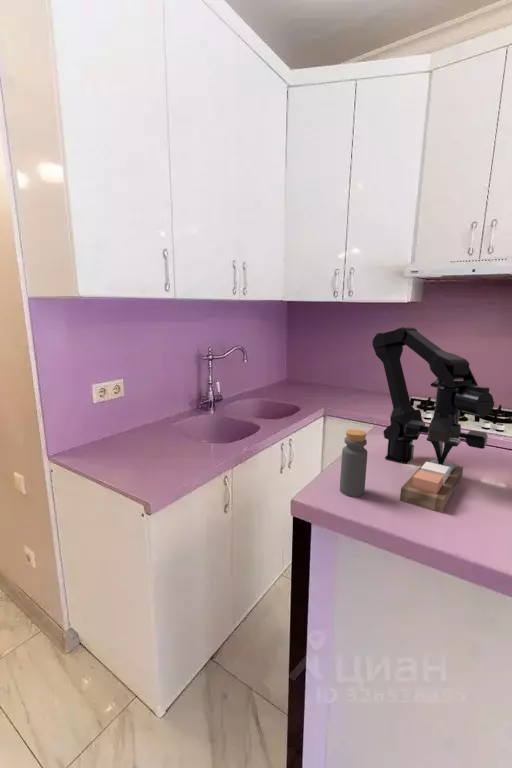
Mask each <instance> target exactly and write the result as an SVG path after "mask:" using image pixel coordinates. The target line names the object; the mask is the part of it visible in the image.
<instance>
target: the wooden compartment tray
mask: <svg viewBox="0 0 512 768" xmlns="http://www.w3.org/2000/svg"><path fill="white" fill-rule="evenodd" d="M431 460H432V459H428V458H426V459H425V460H424V462H423V463H422V464H421V465H420V467H419V468H418V469H417V470H416V471H415V472H414V473H413V474H412V475H411V476H410V478H408V480H407V481H406V482H405V483H404V484H403V485H402V486H401V487H400V496H399V501H401V502H404V503H408V504H412V505H414V506H418V507H421V508H425V509H427V510H430V511H431V510H432V511H435V512H437V513H441V514H442V513H443V512H444V510H445V508H446V507H447V505H448V503H449V501H450V499H451V498H452V496H453V494H454V492H455V491H456V489H457V487H458V485H459V484H460V482H461V480H462V479H463V472H464V471H463V470H464V466H460V465H455V464H454V471H453V473H452V474H451V475H449V476H448V480H447V482H446V483H445V484H442V489H441V491H440V493H439V494H438V495H437V494H434V493H430V492H426V491H423V490H419V489H416V488H412V482H413V476H414V475H415V474H416V473H417V472H418V471H419V470H421V467H422V466H423V465H424V464H425V463H426V462H431Z"/></svg>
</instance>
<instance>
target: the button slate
mask: <svg viewBox="0 0 512 768" xmlns="http://www.w3.org/2000/svg"><path fill="white" fill-rule="evenodd" d="M430 460H431V463H435V464H438V460H437V459H430ZM443 465H444V466H448V467H450V468H449V475H451V474H452V473H453V471H454V465H455V463H451V462H448V461H447V462H446V461H444V463H443Z"/></svg>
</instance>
